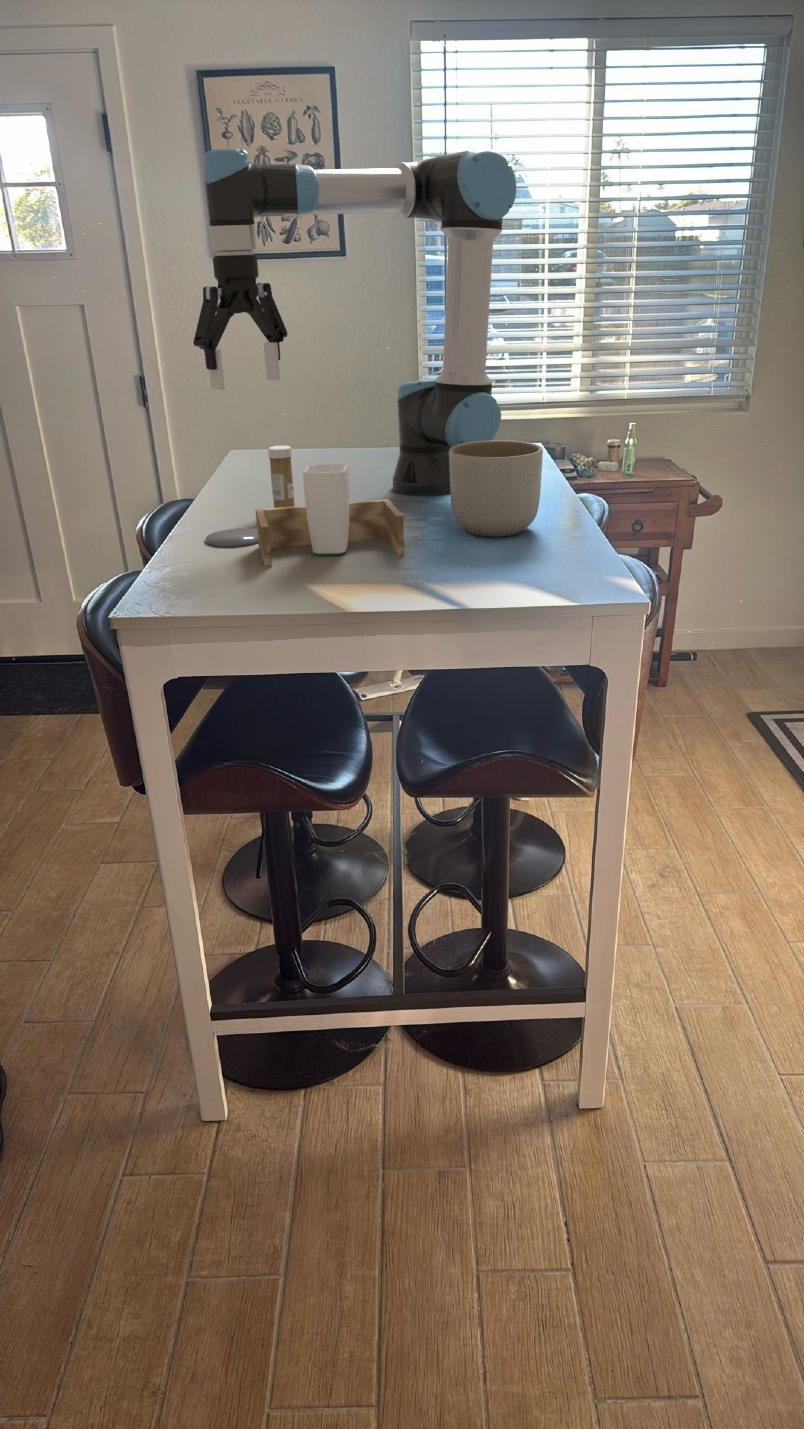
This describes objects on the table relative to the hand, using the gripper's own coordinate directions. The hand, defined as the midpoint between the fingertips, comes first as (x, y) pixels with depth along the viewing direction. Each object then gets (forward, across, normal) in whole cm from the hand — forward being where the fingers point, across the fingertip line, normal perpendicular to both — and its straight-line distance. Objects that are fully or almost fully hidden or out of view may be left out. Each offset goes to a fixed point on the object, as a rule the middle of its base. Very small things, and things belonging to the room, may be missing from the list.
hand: (246, 384), depth 178 cm
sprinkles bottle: (+28, -14, -8) cm, 32 cm away
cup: (+28, +2, +20) cm, 34 cm away
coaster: (+27, +5, -1) cm, 28 cm away
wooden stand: (+27, +2, +20) cm, 34 cm away
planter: (+28, -26, +36) cm, 53 cm away
